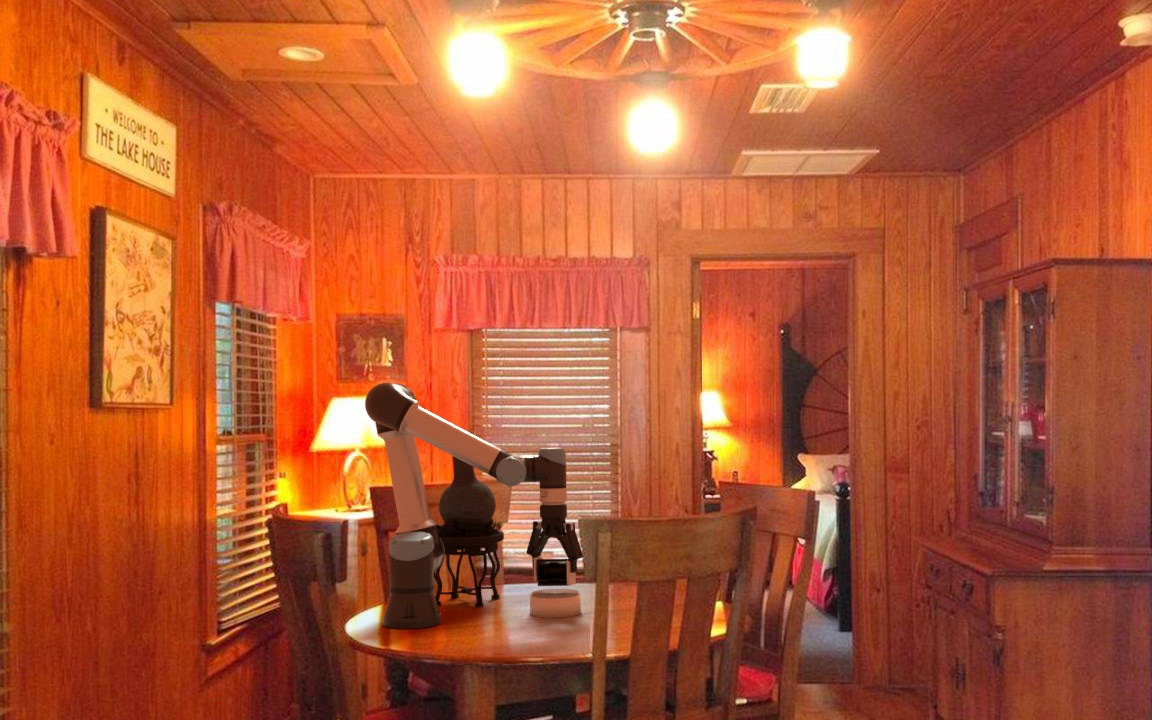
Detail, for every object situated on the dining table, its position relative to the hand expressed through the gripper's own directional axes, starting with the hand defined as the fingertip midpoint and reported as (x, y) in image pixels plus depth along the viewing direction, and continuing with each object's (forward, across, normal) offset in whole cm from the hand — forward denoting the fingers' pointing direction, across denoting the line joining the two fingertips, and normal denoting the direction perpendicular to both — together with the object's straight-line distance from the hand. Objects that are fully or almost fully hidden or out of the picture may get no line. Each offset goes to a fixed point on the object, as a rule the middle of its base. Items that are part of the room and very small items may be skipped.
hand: (554, 582), depth 292 cm
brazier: (+8, -34, -2) cm, 35 cm away
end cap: (+1, 0, 0) cm, 1 cm away
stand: (+8, 0, 0) cm, 8 cm away
